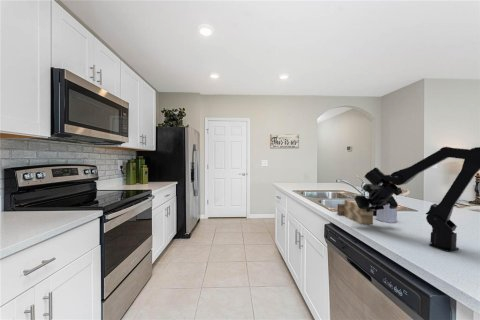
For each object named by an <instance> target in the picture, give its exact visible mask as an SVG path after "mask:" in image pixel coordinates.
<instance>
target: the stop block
mask: <svg viewBox="0 0 480 320" xmlns="http://www.w3.org/2000/svg"><path fill="white" fill-rule="evenodd" d="M336 209H337V213H336V214H337V215H338V216H339V217H341V216H342V217H345V216H344V203H338V204H337V208H336Z"/></svg>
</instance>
